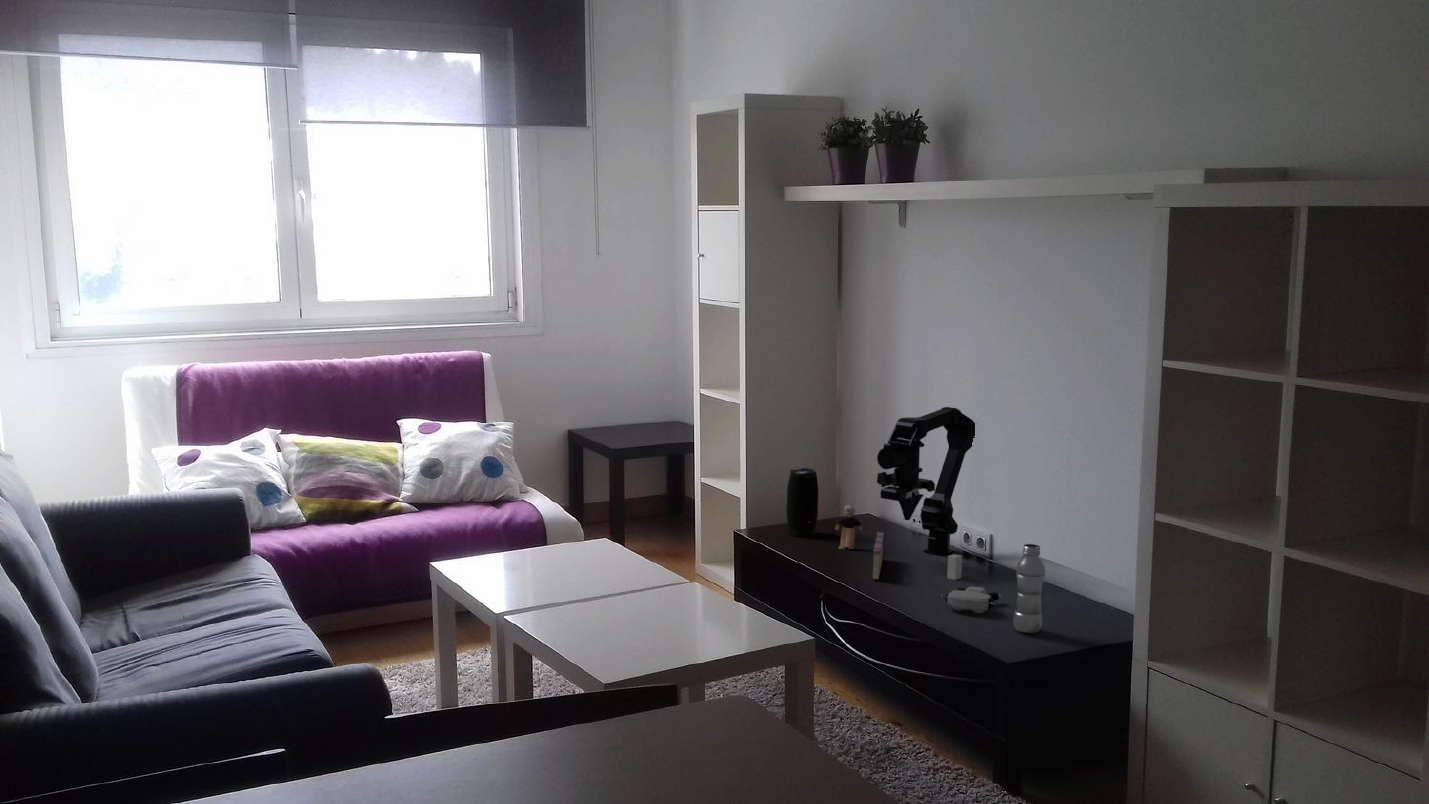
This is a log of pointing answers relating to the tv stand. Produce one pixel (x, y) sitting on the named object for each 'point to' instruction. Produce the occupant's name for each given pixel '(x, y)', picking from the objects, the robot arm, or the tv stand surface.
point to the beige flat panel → (878, 554)
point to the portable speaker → (802, 502)
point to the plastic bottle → (1029, 590)
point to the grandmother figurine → (848, 528)
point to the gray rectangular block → (954, 567)
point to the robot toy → (971, 599)
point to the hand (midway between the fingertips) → (907, 519)
